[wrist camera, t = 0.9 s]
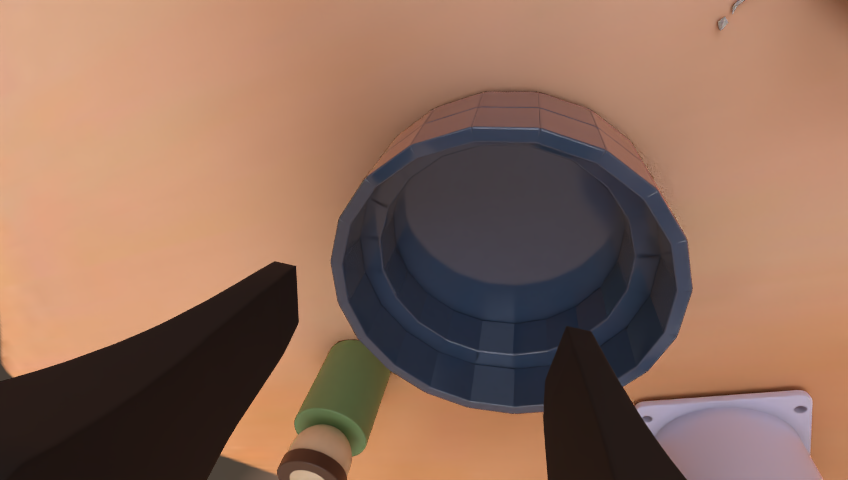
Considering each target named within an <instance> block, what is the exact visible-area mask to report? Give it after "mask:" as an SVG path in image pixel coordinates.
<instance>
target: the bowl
mask: <svg viewBox="0 0 848 480" xmlns="http://www.w3.org/2000/svg"><path fill="white" fill-rule="evenodd" d="M331 267H332V273H333V278H334V284H335V289H336V295H337V300H338V303H339V306H340V307H341V309H342V311H343V313H344V315H345V316H346V318H347V320H348V322H349V324H350V325H351V327H352V329H353V331H354V333H355V335H356V336H357V338H358V339H359V341H360V342H361V343H362V344H363V345H364V346H365V347H366V348H367V349H368V350H369V351H370V352H371V353H372V354H373V355H374V356H375V357H376V358H377V359H378V360H379V361H380V362H381V363H382V364H383V365H384V366H385V367H386V368H387V369H389V370H390V371H391V372H393V373H394V374H396V375H398V376H399V377H401V378H403V379H404V380H406V381H407V382H409V383H411V384H412V385H414V386H416V387H417V388H419V389H420V390H422V391H424V392H426V393H428V394H431V395H433V396H436V397H439V398H442V399H445V400H448V401H450V402H453V403H456V404H459V405H462V406H465V407H469V408H474V409H481V410H488V411H496V412H503V413H510V414H514V413H515V414H522V413H536V412H544V391H545V379H546V377H547V374H548V372H549V369H550V366H551V364H552V361H553V359H554V356H555V354H556V351H557V349H558V346H559V343H560V341H561V338H562V336H563V333H564V331H565V328H566V326H569V327H574V328H578V329H583V330H587V331H591V332H592V334H593V335H594V337H595V339H596V341H597V342H598V344H599V346H600V348H601V350H602V352H603V353H604V355H605V357H606V359H607V361H608V362H609V364H610V366H611V368H612V369H613V371H614V373H615V375H616V376H617V378H618V380H619V382H620V383H621V385H622V387H623V386H625V385H627V384H628V383H630V382H631V381H633V380H635V379H636V378H638V377H640V376H641V375H643V374H644V373H646V371H648V370H649V369H650V368H651V367H652V366H653V364H654V363H655V362H656V361H657V360H658V359H659V357H660V356H661V355H662V354H663V353H664V351H665V350H666V349H667V348H668V347H669V346H670V344H671V343H672V342H673V341H674V340H675V338H676V337H677V335H678V333H679V330H680V327H681V324H682V321H683V318H684V315H685V312H686V309H687V306H688V303H689V300H690V297H691V294H692V289H693V287H692V278H691V269H690V259H689V250H688V241H687V239H686V236H685V234H684V232H683V230H682V229H681V227H680V225H679V223H678V222H677V220H676V218H675V216H674V215H673V213H672V211H671V209H670V208H669V206H668V204H667V202H666V200H665V199H664V197H663V195H662V193H661V192H660V190H659V188H658V186H657V185H656V183H655V181H654V179H653V178H652V176H651V174H650V173H649V171H648V169H647V167H646V166H645V164H644V162H643V161H642V159H641V157H640V156H639V154H638V152H637V151H636V149H635V147H634V145H633V144H632V142H631V141H630V140H629V139H628V138H626V137H625V136H624V135H622V134H621V133H620V132H619V131H617V130H616V129H615V128H614V127H612V126H611V125H610V124H608V123H607V122H606V121H605V120H603V119H602V118H601V117H600V116H598V115H597V114H596V113H594V112H593V111H592V110H589V109H588V108H585V107H582V106H579V105H576V104H573V103H570V102H567V101H564V100H561V99H558V98H555V97H552V96H549V95H546V94H543V93H540V92H539V93H538V92H484V93H479V94H476V95H472V96H469V97H466V98H463V99H460V100H457V101H454V102H451V103H448V104H445V105H442V106H439V107H436V108H435V109H432V110H431V111H430V112H428V113H427V114H426V115H424V116H423V117H422V118H420V119H419V120H418V121H416V122H415V123H414V124H412V125H411V126H410V127H408V128H407V129H406V130H404V131H403V132H402V133H400V134H399V135H398V136H397V137H396V138H395V139H394V140H393V142H392V143H391V144H390V146H389V147H388V148H387V150H386V151H385V152H384V154H383V155H382V156H381V157H380V159H379V160H378V161H377V163H376V164H375V165H374V167H373V168H372V169H371V171H370V172H369V173H368V175H367V176H366V177H365V178H364V180H363V181H362V183H361V185H360V186H359V188H358V189H357V191H356V192H355V194H354V195H353V197H352V198H351V200H350V202H349V203H348V205H347V206H346V208H345V209H344V211H343V212H342V214H341V215H340V217H339V220H338V225H337V230H336V235H335V240H334V246H333V251H332V256H331Z"/></svg>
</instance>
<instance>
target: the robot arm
mask: <svg viewBox="0 0 848 480" xmlns="http://www.w3.org/2000/svg"><path fill="white" fill-rule="evenodd" d="M298 323H299V318H298V297H297V276H296V266H293V265H289V264H284V263H280V262H273V263H271V264H269V265H267V266H266V267H264V268H262V269H260V270H259V271H257V272H255V273H254V274H252V275H250V276H248V277H247V278H245V279H243V280H242V281H240V282H238V283H237V284H235V285H233V286H231V287H230V288H228V289H226V290H224V291H223V292H221V293H219V294H217V295H216V296H214V297H212V298H210V299H209V300H207V301H205V302H203V303H201V304H199V305H197V306H195V307H193V308H191V309H190V310H188V311H186V312H184V313H182V314H180V315H178V316H176V317H174V318H172V319H170V320H168V321H166V322H164V323H162V324H160V325H158V326H156V327H153V328H151V329H149V330H147V331H145V332H142V333H140V334H137V335H135V336H133V337H130V338H128V339H126V340H123V341H121V342H118V343H116V344H113V345H111V346H108V347H105V348H102V349H100V350H97V351H94V352H91V353H89V354H86V355H83V356H80V357H78V358H75V359H72V360H69V361H66V362H63V363H60V364H57V365H54V366H51V367H48V368H45V369H41V370H38V371H35V372H31V373H28V374H25V375H21V376H18V377H14V378H11V379H7V380H4V381H0V480H207V478H208V476H209V475H210V473H211V471H212V469H213V467H214V465H215V463H216V461H217V459H218V457H219V456H220V454H221V452H222V450H223V448H224V446H225V444H226V443H227V441H228V439H229V437H230V436H231V434H232V432H233V431H234V429H235V427H236V426H237V424H238V423H239V421H240V420H241V418H242V417H243V415H244V414H245V412H246V411H247V409H248V408H249V406H250V405H251V403H252V402H253V400H254V398H255V397H256V395H257V394H258V392H259V391H260V389H261V388H262V386H263V385H264V383H265V382H266V380H267V379H268V377H269V376H270V374H271V373H272V371H273V370H274V368H275V367H276V365H277V363H278V362H279V360H280V359H281V357H282V356H283V354H284V352H285V350H286V348H287V346H288V344H289V342H290V340H291V338H292V336H293V334H294V331H295V329H296V327H297V325H298ZM812 404H813V401H812V398H811V396H810V395H809V393H807V392H806V391H803V390H789V391H776V392H763V393H749V394H736V395H722V396H709V397H695V398H682V399H668V400H655V401H642V402H639V403H637V404H636V405H635V406H634V405H633V403H632V401H631V400H630V398H629V396H628V395H627V393H626V392H625V390H624V388H623V387H622V385H621V383H620V382H619V380H618V378H617V376H616V375H615V373H614V371H613V369H612V368H611V366H610V364H609V362H608V361H607V359H606V357H605V355H604V353H603V352H602V350H601V348H600V346H599V344H598V342H597V341H596V339H595V337H594V335H593V334H592V332H591V331H587V330H583V329H578V328H574V327H569V326H566V328H565V331H564V333H563V336H562V338H561V341H560V343H559V346H558V349H557V351H556V354H555V356H554V359H553V361H552V364H551V366H550V369H549V372H548V374H547V377H546V379H545V391H544V414H543V421H544V435H545V449H546V461H547V474H548V480H823V478H822V476H821V474H820V472H819V471H818V469H817V467H816V465H815V464H814V462H813V460H812V458H811V457H810V451H811V428H812Z"/></svg>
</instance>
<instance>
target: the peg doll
mask: <svg viewBox="0 0 848 480" xmlns="http://www.w3.org/2000/svg"><path fill="white" fill-rule="evenodd" d="M390 373H391V371H390V370H389V369H387V368H386V367H385V366H384V365H383V364H382V363H381V362H380V361H379V360H378V359H377V358H376V357H375V356H374V355H373V354H372V353H371V352H370V351H369V350H368V349H367V348H366V347H365V346H364V345H363V344H362V343H361V342H360V341H358V340H345V341H341V342H339V343H337V344H335V345H334V346H333V347H332V348H331V350H330V352H329V353H328V355H327V357H326V359H325V361H324V363H323V365H322V367H321V369H320V371H319V373H318V375H317V377H316V379H315V381H314V383H313V385H312V387H311V389H310V390H309V392H308V394H307V396H306V398H305V400H304V402H303V404H302V406H301V408H300V410H299V412H298V414H297V416H296V418H295V423H294V425H295V430H296V432H297V434H298V435H297V436H296V438H295V439H294V440H293V442H292V443H291V445H290V447H289V450H288V452H287V453H286V454H285V455H284V457H283V459H282V461H281V463H280V465H279V467H278V470H277V475H278V478H279V480H347V474H348V472H349V470H350V466H351V461H352V457H353V456H356V455H358V454H360V453H361V452H362V451H363V450H364V449H365V447H366V445H367V442H368V439H369V436H370V433H371V430H372V427H373V424H374V421H375V418H376V415H377V412H378V409H379V406H380V403H381V400H382V397H383V394H384V391H385V388H386V386H387V383H388V380H389V377H390Z"/></svg>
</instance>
